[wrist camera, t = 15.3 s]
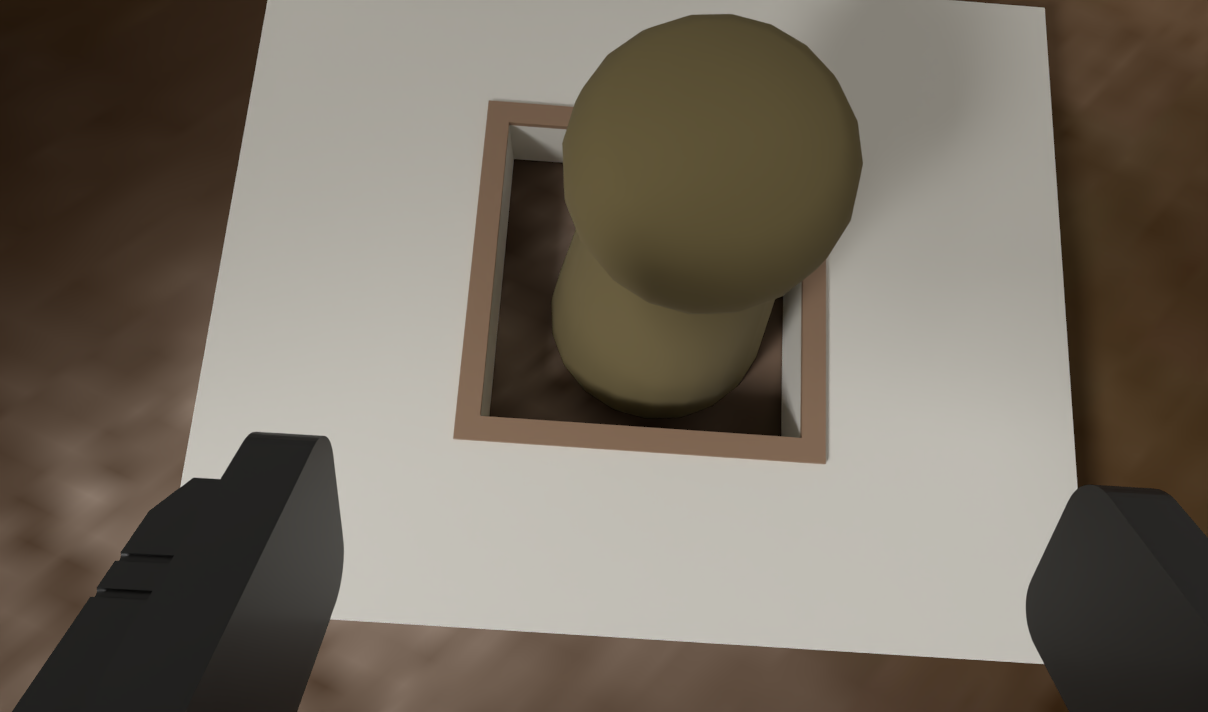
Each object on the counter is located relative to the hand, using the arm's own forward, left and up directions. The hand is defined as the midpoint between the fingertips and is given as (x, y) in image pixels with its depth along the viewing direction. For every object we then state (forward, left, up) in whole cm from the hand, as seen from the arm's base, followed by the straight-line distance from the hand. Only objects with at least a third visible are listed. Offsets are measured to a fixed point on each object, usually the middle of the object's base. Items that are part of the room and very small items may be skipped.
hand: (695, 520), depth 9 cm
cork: (+1, +6, -14) cm, 15 cm away
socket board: (0, +7, -13) cm, 15 cm away
